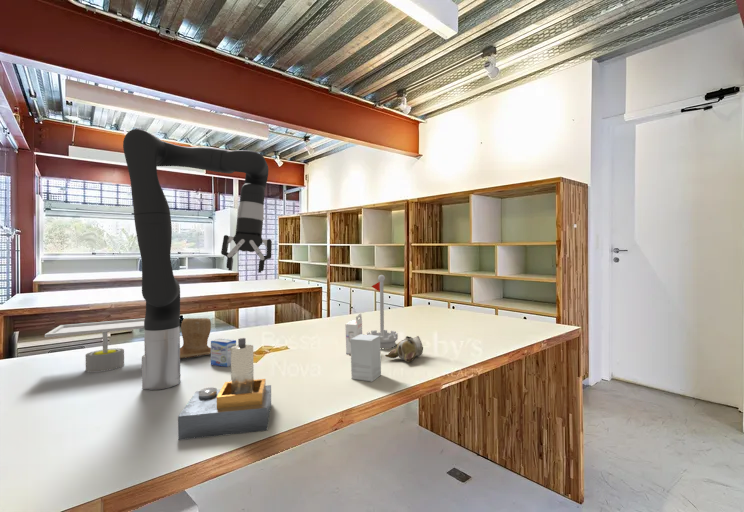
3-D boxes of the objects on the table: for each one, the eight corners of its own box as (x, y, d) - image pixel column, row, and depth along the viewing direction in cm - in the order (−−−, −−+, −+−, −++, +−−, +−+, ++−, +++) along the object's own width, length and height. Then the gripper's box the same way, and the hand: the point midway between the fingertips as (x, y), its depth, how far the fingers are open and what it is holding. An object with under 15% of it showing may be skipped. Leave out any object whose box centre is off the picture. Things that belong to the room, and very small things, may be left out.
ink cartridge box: (351, 348, 147) (350, 312, 147) (362, 348, 146) (362, 313, 146) (345, 354, 138) (344, 316, 138) (357, 354, 137) (357, 316, 137)
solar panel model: (45, 382, 110) (44, 334, 110) (61, 367, 126) (60, 324, 125) (150, 368, 124) (149, 324, 124) (153, 355, 139) (152, 317, 139)
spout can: (229, 403, 81) (228, 342, 81) (233, 394, 86) (232, 337, 86) (252, 401, 82) (251, 340, 82) (254, 392, 87) (254, 335, 87)
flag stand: (403, 344, 153) (402, 274, 152) (388, 351, 142) (387, 276, 141) (377, 340, 160) (376, 273, 159) (360, 347, 149) (360, 275, 148)
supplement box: (381, 374, 114) (381, 335, 114) (372, 382, 108) (371, 340, 108) (361, 371, 117) (360, 333, 117) (350, 379, 111) (350, 338, 111)
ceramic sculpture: (430, 333, 133) (406, 344, 122) (431, 356, 133) (408, 368, 122) (406, 330, 140) (382, 339, 129) (408, 351, 140) (384, 363, 129)
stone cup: (211, 349, 147) (211, 313, 147) (215, 356, 137) (214, 317, 136) (169, 355, 139) (169, 317, 139) (170, 363, 129) (169, 322, 129)
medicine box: (210, 365, 127) (209, 340, 126) (220, 361, 131) (219, 337, 131) (227, 367, 124) (227, 342, 124) (236, 363, 128) (236, 339, 128)
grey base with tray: (178, 440, 75) (177, 404, 75) (196, 411, 89) (196, 381, 89) (267, 430, 79) (266, 396, 79) (271, 404, 92) (271, 375, 92)
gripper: (223, 214, 104) (217, 269, 103) (273, 219, 107) (268, 273, 105) (228, 218, 111) (222, 270, 110) (275, 222, 114) (270, 273, 113)
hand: (245, 271), depth 108 cm, fingers open, 8 cm apart
